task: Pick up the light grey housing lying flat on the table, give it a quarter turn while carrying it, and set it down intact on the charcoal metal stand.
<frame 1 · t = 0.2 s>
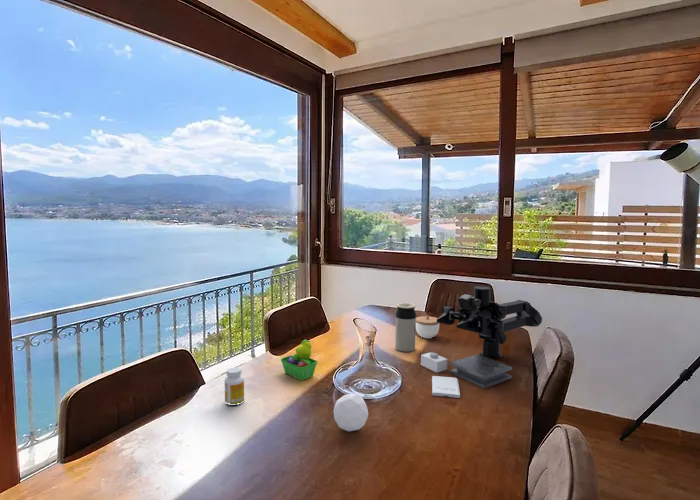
hand: (446, 323, 139), 17 cm above the table, fingers open, 9 cm apart
lidded jar: (426, 336, 178), on the table
travel mug: (405, 349, 162), on the table
supplement bottle: (234, 403, 116), on the table
fruit basket: (300, 374, 136), on the table
external hard drive: (445, 390, 127), on the table
housing: (433, 367, 143), on the table
stand: (480, 375, 136), on the table
white low-poly ball: (353, 426, 104), on the table
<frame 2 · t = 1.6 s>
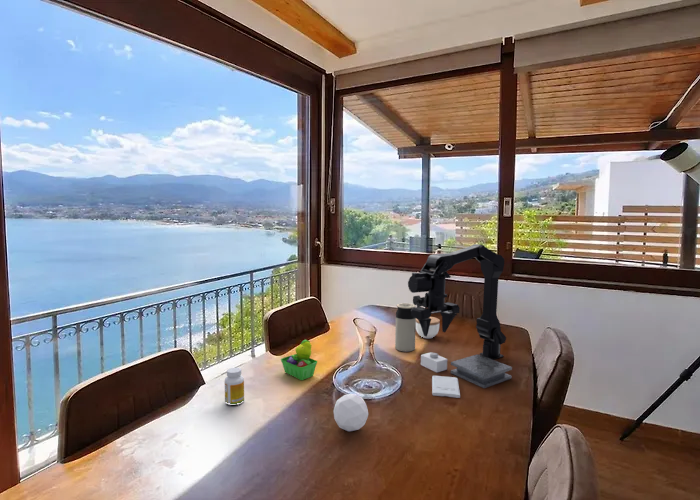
hand: (434, 334, 142), 12 cm above the table, fingers open, 9 cm apart
nothing on the table moved.
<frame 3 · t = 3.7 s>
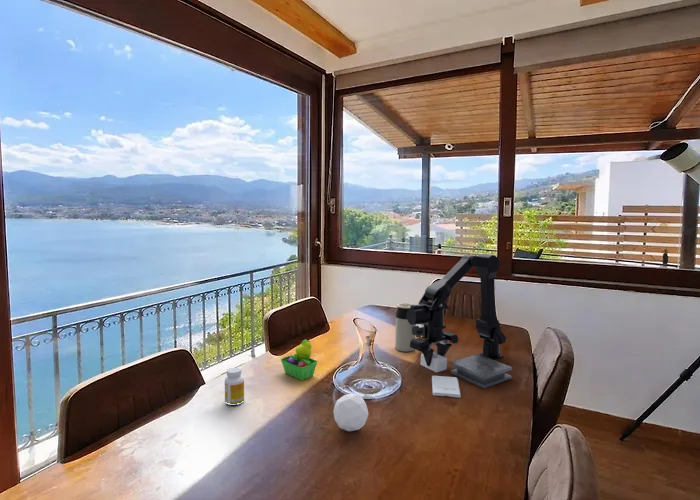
hand: (433, 364, 143), 1 cm above the table, fingers closed on housing, 5 cm apart
housing: (433, 367, 143), on the table, touching gripper
everything else where it was.
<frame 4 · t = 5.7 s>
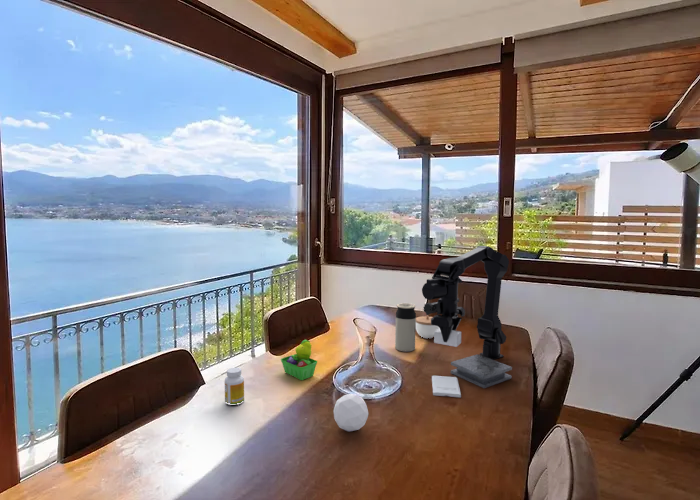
hand: (447, 339, 140), 11 cm above the table, fingers closed on housing, 5 cm apart
housing: (447, 342, 141), point 10 cm above the table, touching gripper
everything else where it was.
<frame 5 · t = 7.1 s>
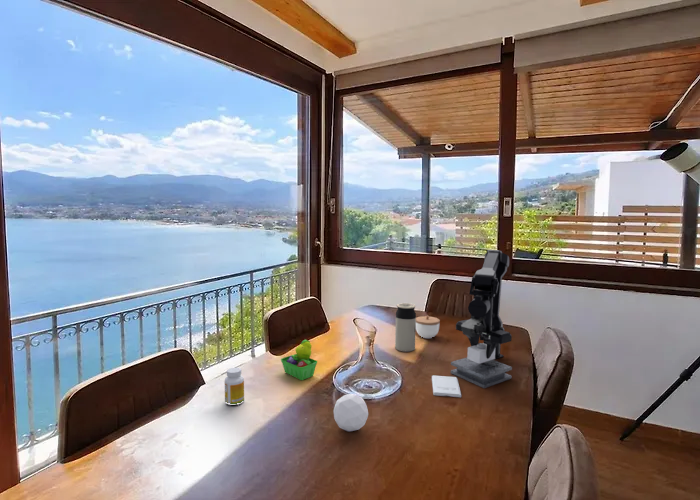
hand: (481, 355, 135), 7 cm above the table, fingers closed on housing, 5 cm apart
housing: (481, 358, 136), point 6 cm above the table, touching gripper
everything else where it was.
when the fingers open (6 cm above the table, at t = 8.0 s): housing drops 1 cm, resting on stand.
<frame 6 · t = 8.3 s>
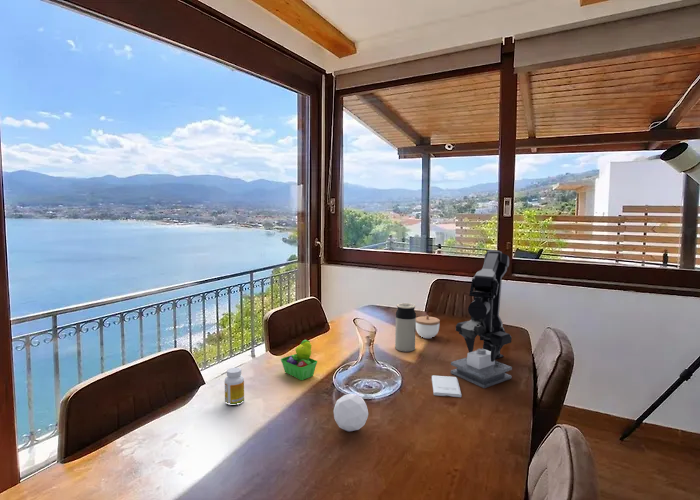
hand: (481, 357, 135), 6 cm above the table, fingers open, 9 cm apart
housing: (480, 364, 136), point 4 cm above the table, touching stand
everything else where it was.
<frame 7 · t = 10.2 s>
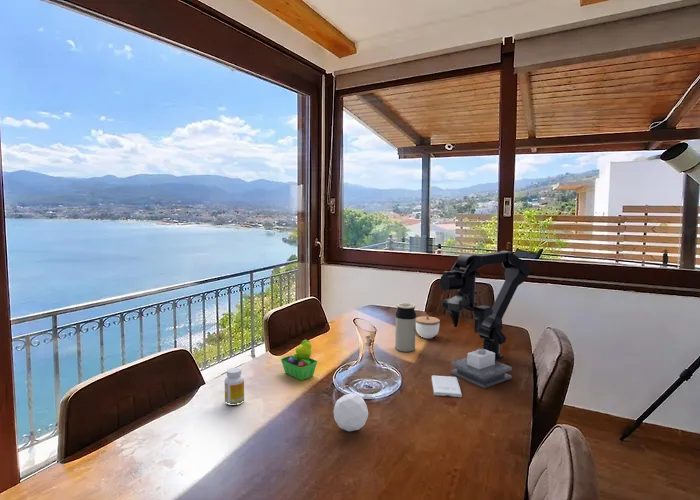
hand: (465, 329, 148), 12 cm above the table, fingers open, 9 cm apart
nothing on the table moved.
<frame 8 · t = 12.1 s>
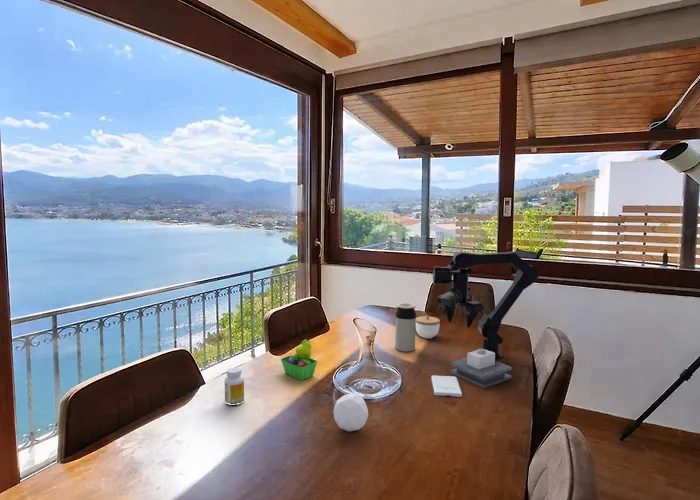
hand: (458, 324, 155), 12 cm above the table, fingers open, 9 cm apart
nothing on the table moved.
at the end: housing inside the target area on the stand (0.0 cm from its centre), point 4.0 cm above the stand's base; housing tilted 0°; the gripper is holding nothing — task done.
